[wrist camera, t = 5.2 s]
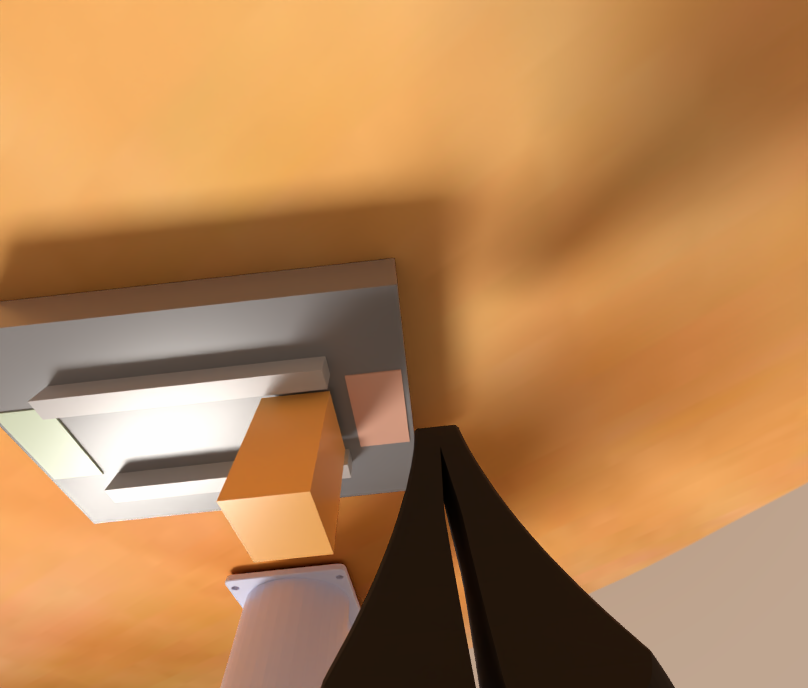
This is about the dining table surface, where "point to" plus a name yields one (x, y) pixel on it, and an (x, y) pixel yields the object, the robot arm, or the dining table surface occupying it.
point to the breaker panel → (202, 382)
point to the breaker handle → (287, 479)
